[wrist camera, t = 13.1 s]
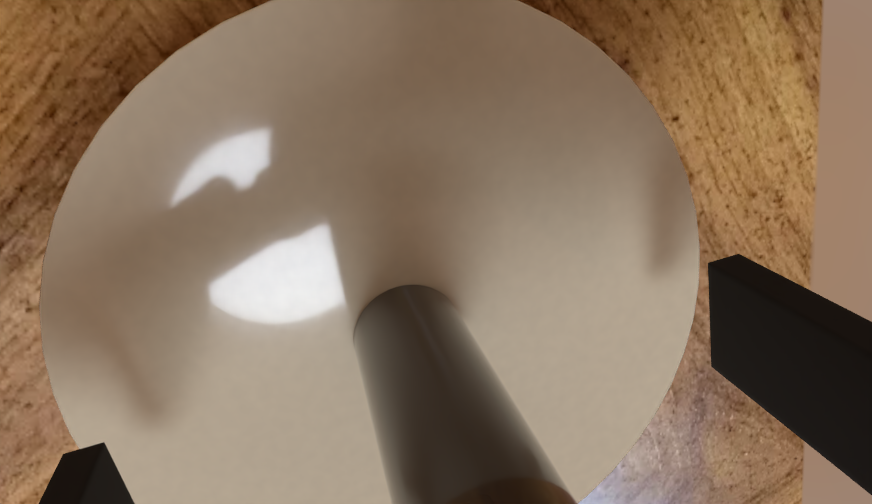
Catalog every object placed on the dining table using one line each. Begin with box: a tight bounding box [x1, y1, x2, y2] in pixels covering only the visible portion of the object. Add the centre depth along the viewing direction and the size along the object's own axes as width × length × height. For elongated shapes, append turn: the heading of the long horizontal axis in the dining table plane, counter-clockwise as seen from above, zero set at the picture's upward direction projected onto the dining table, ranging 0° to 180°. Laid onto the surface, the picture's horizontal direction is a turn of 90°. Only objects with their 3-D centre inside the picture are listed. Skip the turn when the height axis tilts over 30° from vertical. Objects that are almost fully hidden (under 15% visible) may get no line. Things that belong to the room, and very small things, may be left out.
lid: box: [39, 0, 700, 504], centre depth 13 cm, size 17×17×9 cm
